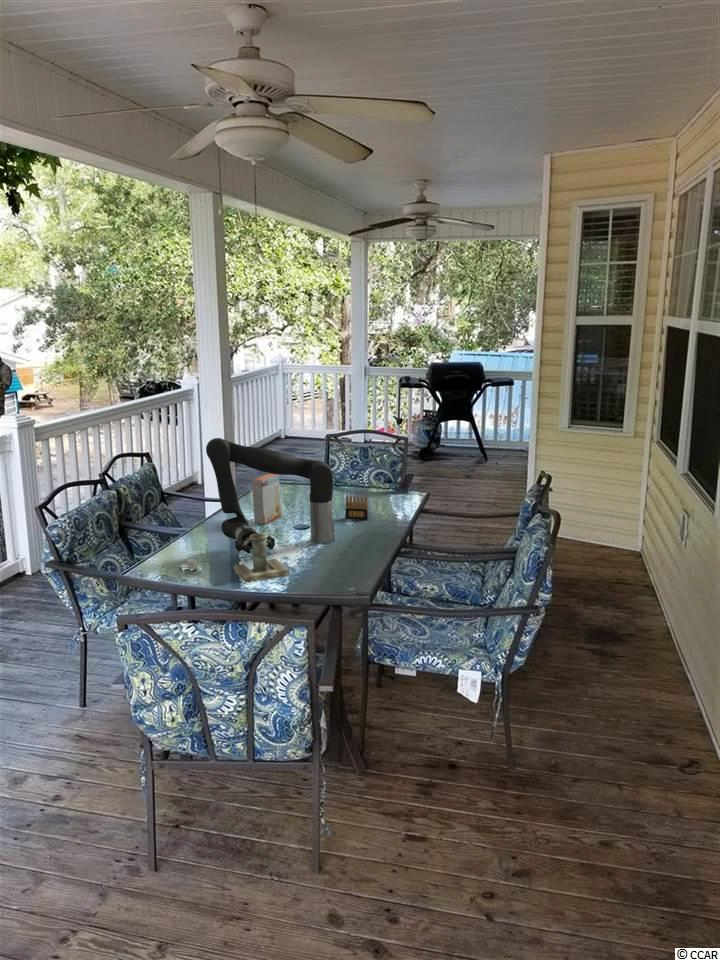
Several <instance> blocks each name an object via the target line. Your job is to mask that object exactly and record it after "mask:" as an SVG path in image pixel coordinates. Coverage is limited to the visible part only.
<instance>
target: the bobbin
mask: <svg viewBox="0 0 720 960" xmlns="http://www.w3.org/2000/svg"><path fill="white" fill-rule="evenodd" d="M268 536H269V535H268V534H267V533H264V532H262V533H261V532H257V533H255V534H252V535H250V539H251V540H252V549H251V552H252V569H251V571H252V572H253V573H257V572H263V571H269V570H270V569H269V568H268V567H267V560H268V559H267V558H268V557H267V547H266V544H267V542H266V539H267V538H268Z"/></svg>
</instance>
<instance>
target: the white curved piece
mask: <svg viewBox="0 0 720 960" xmlns="http://www.w3.org/2000/svg"><path fill="white" fill-rule="evenodd" d="M183 566H187V567H183ZM197 566H199V564H198V562H197V560H196V559H195V558H194V559H191V558H190V559H188V560H187V563H182V564H180V565H179V568H180V567H181V568H189V569H198V568H197ZM189 569H188V570H189Z"/></svg>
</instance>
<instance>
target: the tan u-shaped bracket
mask: <svg viewBox="0 0 720 960" xmlns="http://www.w3.org/2000/svg"><path fill="white" fill-rule="evenodd" d="M267 568H268V569H269V571H263V572H257V573H253V572H252V569H249V567H248V566H247V564H243V563H242V564H238V565H237V564H236V565H233V571H234V570H235V571H236V572H235V571H234V572H235V574H236V575H237V574H238V575H239V576H240V577H241V578H242V579H243V580H244V581H245V582H244V581H243V580H242V579H241V578H240V577H239V576H238V575H237V576H238V577H239V578H240V579H241V580H242V581H243V582H244V583H245V584H247V583H246V582H249V583H252V582H251V581H254V582H258V581H257V580H260V581H264V580H265V581H266V580H271V579H275V578H280V577H287V576H290V569H289V568H287V567H286V566H285V565H284V563H281V562H280V561H279V560H278V559H277V558H272V559H267Z"/></svg>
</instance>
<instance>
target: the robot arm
mask: <svg viewBox="0 0 720 960" xmlns="http://www.w3.org/2000/svg"><path fill="white" fill-rule="evenodd" d="M205 452H206V455H207V457H208V459H209V461H210V464H211V465H212V469H213V471H214V474H215V478H216V483H217V491H218V497H219V501H220V506H221V510H222V512H223V514H234V515H235V517H231V518H227V519H225V520H223V521H222V523H221V526H220V527H221V531H222V534H223V535H224V536H225V537H227V538H228V539H233V540H234V548H235V550H236V551H237V552H239V553H241V552H242V551H243V552H245V553H247V554H251V552H252V540H251V539H250V535H252V534H255V533H258V532H257V531H256V529H254V528H253V527H251V526H249V523H248V520H247V518H246V517H245V515H244V513H243V511H242V509H241V505H240V502H239V498H238V493H237V489H236V486H235V485H236V484H235V481H234V479H233V474H232V468H231V463H236V464H241V465H243V466H245V467H248V468H251V469H253V470H256V471H258V472H259V471H260V472H263V473H266V474H269V473H271V474H277V475H279V476H281V475H282V476H288V475H289V476H298V477H302V478H304V479H308V480H309V481H310V482H309V483H310V484H309V485H310V486H309V487H310V488H309V489H310V492H309V508H310V509H309V518H310V521H309V522H310V542H312V543H316V544H327V543H332V542H333V541H336V536H335V535H336V534H335V533H336V531H335V530H336V529H335V527H336V526H335V523H336V522H335V518H334V517H333V493H334V492H333V489H334V486H333V485H334V482H333V481H334V479H333V470H332V468H331V466H329V464H328V463H326V462H325V461H321V460H314V459H306V458H300V457H296V456H293V455H291V454H287V453H283V452H280V451H276V450H272V449H266V448H262V447H255V446H247V445H242V444H237V443H235V442H231V441H229V440H226V439H224V438H221V437H215V438H212V439H210V440H209V441H208V443H206V447H205ZM275 546H276V539H275V538H274V537H272V536H271V535H268V538H267V539H266V548H268V549H269V550H270V551H273V550H274V549H275Z"/></svg>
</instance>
